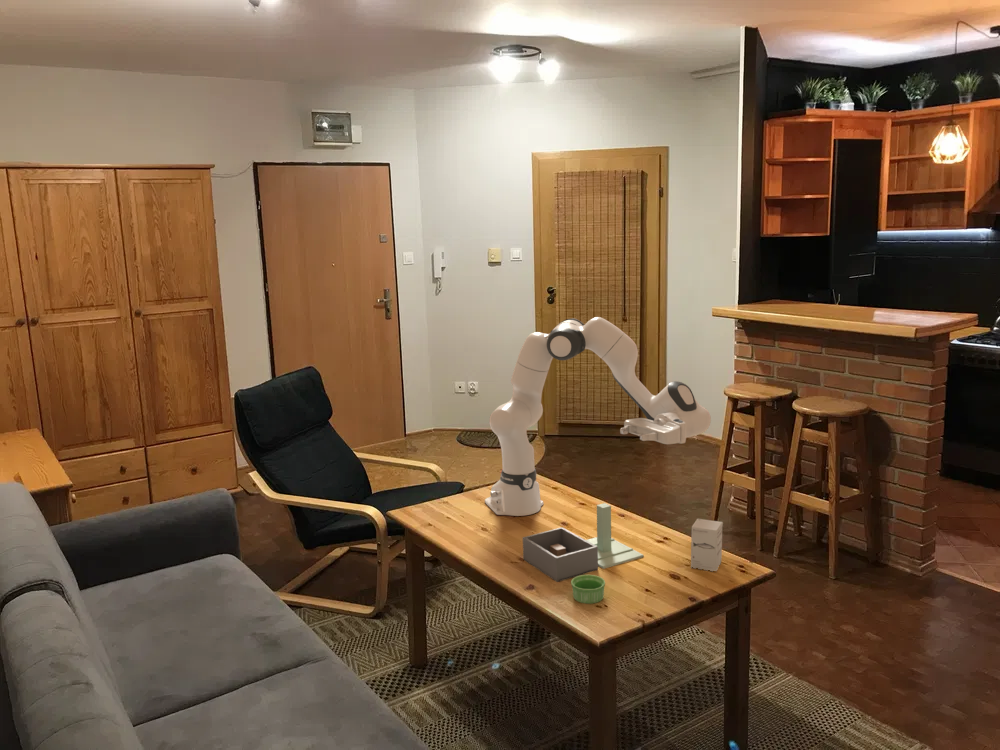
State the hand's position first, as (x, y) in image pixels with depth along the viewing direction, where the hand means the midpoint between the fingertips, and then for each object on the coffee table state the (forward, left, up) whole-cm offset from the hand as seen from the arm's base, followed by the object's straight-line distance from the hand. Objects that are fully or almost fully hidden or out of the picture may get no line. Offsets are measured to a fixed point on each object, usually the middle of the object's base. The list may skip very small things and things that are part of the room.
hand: (631, 434), depth 239 cm
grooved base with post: (+2, -12, -34) cm, 36 cm away
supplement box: (+26, +6, -34) cm, 43 cm away
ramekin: (+23, -33, -34) cm, 53 cm away
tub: (+2, -28, -34) cm, 44 cm away
